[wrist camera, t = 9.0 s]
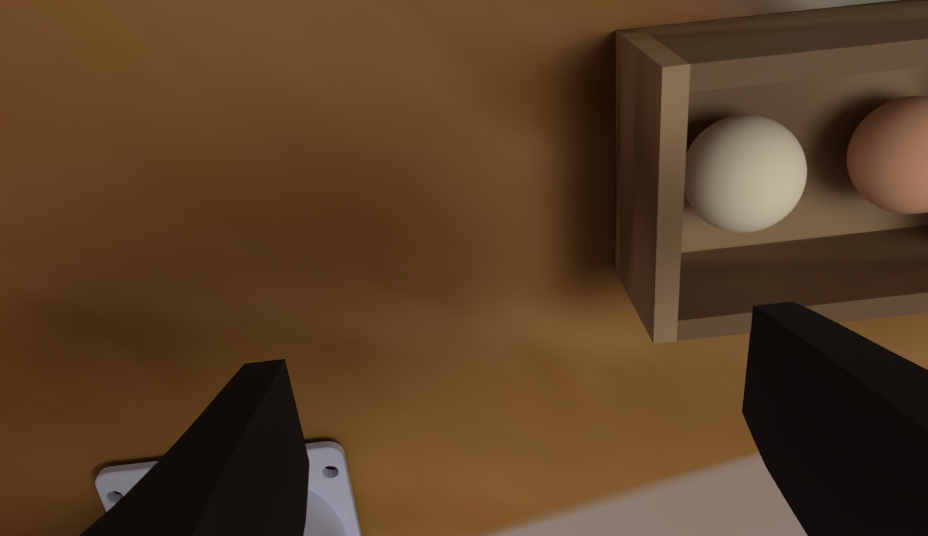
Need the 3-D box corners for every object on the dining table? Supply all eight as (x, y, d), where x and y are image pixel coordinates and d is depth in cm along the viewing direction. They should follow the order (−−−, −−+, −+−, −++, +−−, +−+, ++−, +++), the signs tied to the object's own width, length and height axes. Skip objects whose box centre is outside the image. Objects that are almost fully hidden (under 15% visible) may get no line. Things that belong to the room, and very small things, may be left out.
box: (942, 232, 23) (1039, 299, 20) (614, 269, 23) (653, 343, 20) (997, -10, 20) (1125, 17, 16) (615, 30, 20) (662, 67, 16)
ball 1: (770, 198, 22) (820, 245, 19) (665, 210, 22) (701, 259, 19) (781, 94, 20) (837, 129, 18) (668, 106, 20) (709, 143, 18)
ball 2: (922, 181, 22) (994, 226, 19) (819, 193, 22) (876, 239, 19) (945, 76, 20) (1025, 108, 18) (833, 88, 20) (897, 122, 18)
